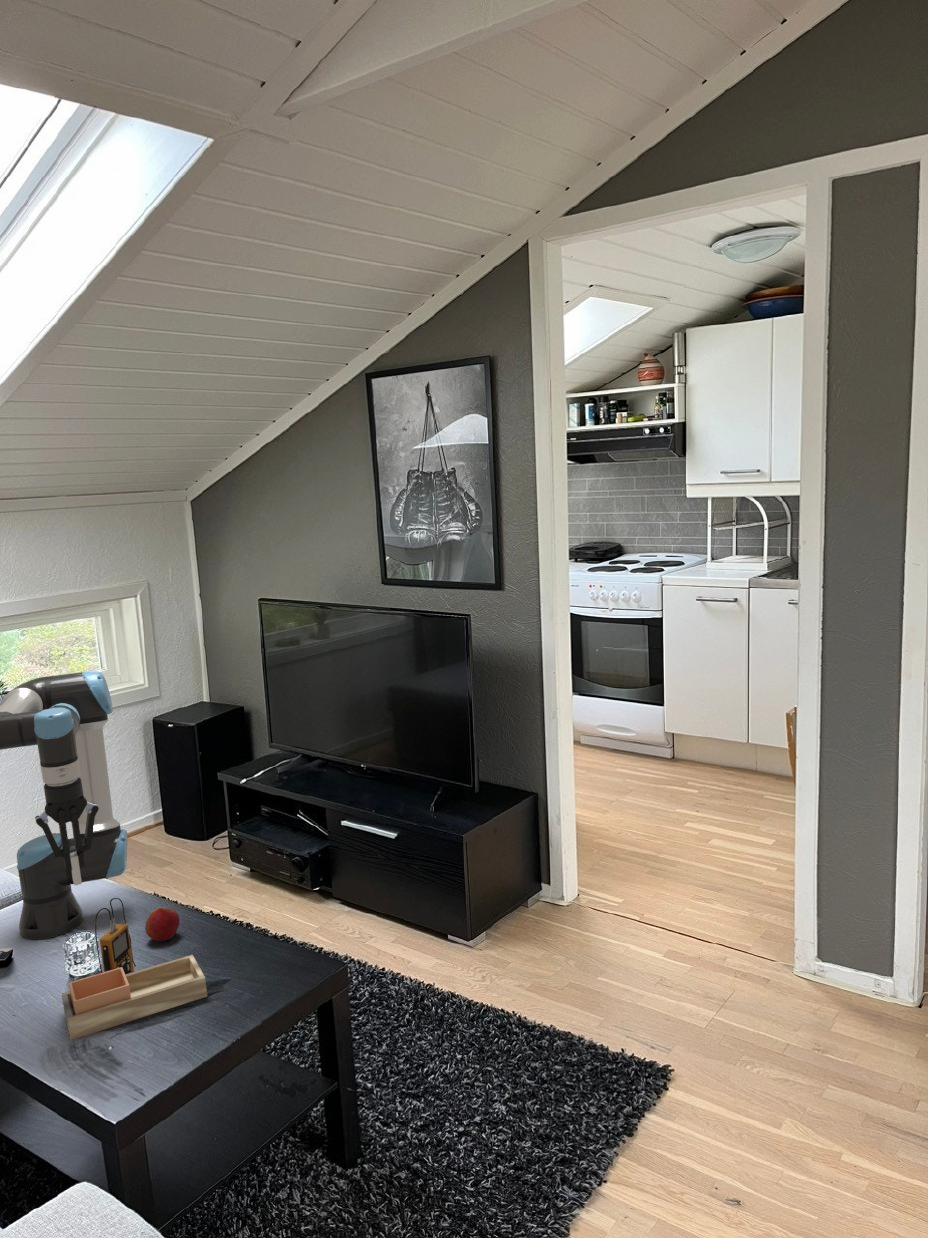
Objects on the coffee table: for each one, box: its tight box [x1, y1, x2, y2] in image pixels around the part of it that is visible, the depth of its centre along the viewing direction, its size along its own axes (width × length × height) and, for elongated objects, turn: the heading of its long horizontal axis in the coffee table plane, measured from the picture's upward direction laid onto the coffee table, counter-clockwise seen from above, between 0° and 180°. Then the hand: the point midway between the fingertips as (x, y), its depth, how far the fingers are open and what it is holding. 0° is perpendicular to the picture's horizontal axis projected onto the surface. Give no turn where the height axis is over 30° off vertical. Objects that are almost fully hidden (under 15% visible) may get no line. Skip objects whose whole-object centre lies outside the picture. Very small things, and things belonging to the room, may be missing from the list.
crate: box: [68, 967, 131, 1016], centre depth 204 cm, size 9×11×6 cm
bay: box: [61, 954, 208, 1041], centre depth 208 cm, size 12×28×4 cm, turn 119°
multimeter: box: [94, 897, 137, 975], centre depth 215 cm, size 15×10×20 cm
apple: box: [144, 907, 180, 942], centre depth 236 cm, size 8×8×8 cm
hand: (77, 882), depth 210 cm, fingers closed
